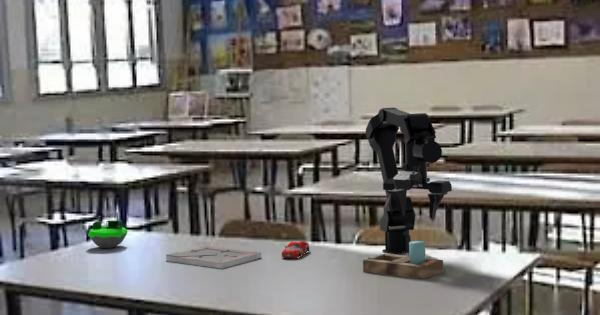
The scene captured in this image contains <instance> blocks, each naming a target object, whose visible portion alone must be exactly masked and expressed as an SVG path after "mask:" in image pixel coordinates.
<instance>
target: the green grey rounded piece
mask: <svg viewBox="0 0 600 315" xmlns="http://www.w3.org/2000/svg"><path fill="white" fill-rule="evenodd" d="M115 216H116V220H115V219H114V220H111V219H110V220H107V221H106V225H105V226H103V225H102V220H98V221H94V222H93V223H92V228H90V229H89V232H88V234H87V236H88V237H89V238H90V240H91V242H93V244H95V245H96V246H97V247H99V248H100V249H114V248H115V247H117V246H119V245H120V244H122V243H123V241H124V239H125V238H126V236H127V235H128V229H127V228H125V227H124V226H123V225H124V224H123V220H121V219H119V213H118V212H116V215H115Z"/></svg>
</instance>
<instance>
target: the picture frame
mask: <svg viewBox="0 0 600 315" xmlns="http://www.w3.org/2000/svg"><path fill="white" fill-rule="evenodd" d="M258 258H260V259H262V252H259V251H258V252H257V251H253V250H252V251H251V250H245V249H244V250H243V249H236V248H235V249H234V248H228V247H227V248H226V247H218V246H209V245H204V246H200V247H196V248H191V249H186V250H183V251H177V252H176V251H175V252H172V253H168V254H166V255H165V259H166V262H172V263H178V264H179V263H180V264H186V265H192V266H202V267H208V268H209V267H210V268H215V269H225V268H226V269H227V268H229V267H233V266H236V265H240V264H244V263H245V264H246V263H248V262H252V261H256V260H259V259H258ZM255 259H256V260H255Z"/></svg>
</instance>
